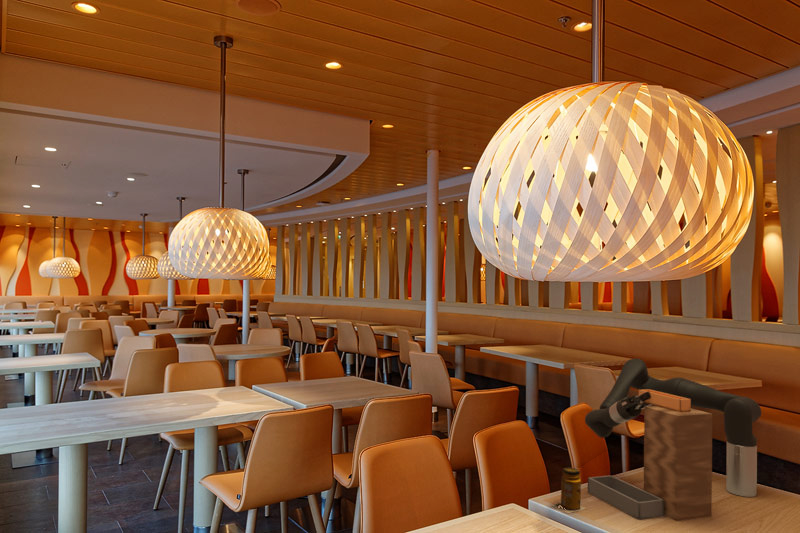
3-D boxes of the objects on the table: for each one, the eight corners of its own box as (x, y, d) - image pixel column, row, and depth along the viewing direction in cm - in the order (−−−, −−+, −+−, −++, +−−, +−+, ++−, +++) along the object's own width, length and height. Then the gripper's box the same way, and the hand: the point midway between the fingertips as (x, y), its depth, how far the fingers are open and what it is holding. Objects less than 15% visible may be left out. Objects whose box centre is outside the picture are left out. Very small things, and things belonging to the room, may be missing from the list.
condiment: (586, 508, 185) (586, 471, 185) (568, 514, 180) (569, 475, 180) (568, 501, 191) (568, 464, 191) (550, 506, 186) (551, 468, 186)
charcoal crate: (587, 492, 200) (587, 477, 200) (611, 489, 203) (611, 475, 203) (638, 519, 177) (638, 503, 177) (664, 516, 180) (664, 500, 180)
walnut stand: (643, 504, 190) (644, 406, 191) (676, 500, 194) (677, 404, 196) (676, 520, 177) (677, 415, 178) (711, 516, 181) (712, 413, 182)
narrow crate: (638, 401, 200) (638, 389, 200) (648, 400, 201) (649, 389, 202) (679, 412, 183) (679, 399, 183) (690, 411, 185) (690, 399, 185)
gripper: (605, 401, 209) (634, 384, 195) (636, 399, 214) (667, 382, 200) (612, 421, 205) (642, 405, 192) (644, 419, 210) (676, 403, 196)
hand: (655, 394), depth 196 cm, fingers closed on narrow crate, 4 cm apart
